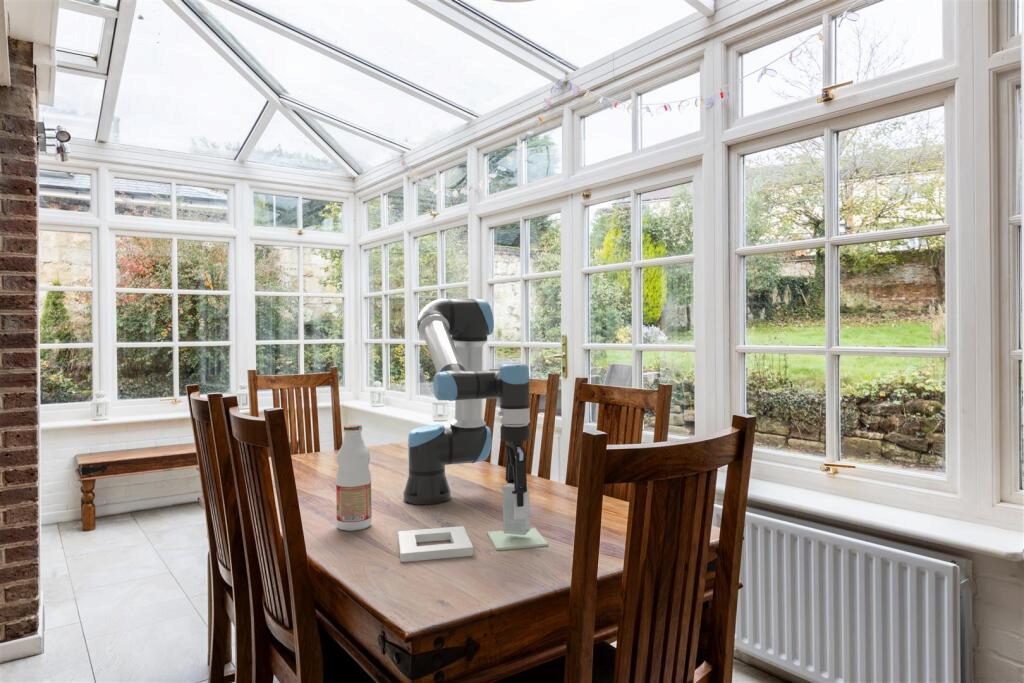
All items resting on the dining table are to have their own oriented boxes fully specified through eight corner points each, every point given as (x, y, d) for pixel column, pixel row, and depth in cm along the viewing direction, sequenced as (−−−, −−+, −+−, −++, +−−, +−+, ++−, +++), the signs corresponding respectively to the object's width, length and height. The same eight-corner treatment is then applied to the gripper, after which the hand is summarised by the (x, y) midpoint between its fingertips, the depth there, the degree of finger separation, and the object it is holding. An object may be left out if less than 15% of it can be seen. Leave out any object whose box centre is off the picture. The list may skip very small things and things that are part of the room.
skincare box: (530, 530, 158) (529, 484, 158) (525, 535, 154) (524, 488, 154) (508, 528, 160) (507, 482, 160) (502, 533, 156) (501, 486, 155)
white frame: (398, 539, 159) (398, 531, 159) (463, 533, 162) (463, 526, 162) (400, 562, 142) (400, 553, 142) (473, 555, 146) (473, 547, 146)
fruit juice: (352, 533, 164) (350, 428, 164) (329, 527, 169) (328, 426, 169) (378, 524, 171) (377, 424, 171) (356, 519, 177) (354, 422, 177)
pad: (487, 534, 162) (487, 531, 162) (535, 530, 164) (535, 527, 164) (496, 550, 149) (496, 548, 149) (548, 545, 152) (548, 543, 152)
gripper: (493, 420, 165) (494, 505, 165) (508, 430, 146) (510, 527, 146) (520, 419, 167) (521, 503, 167) (539, 429, 148) (540, 524, 148)
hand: (516, 514), depth 157 cm, fingers closed on skincare box, 6 cm apart
